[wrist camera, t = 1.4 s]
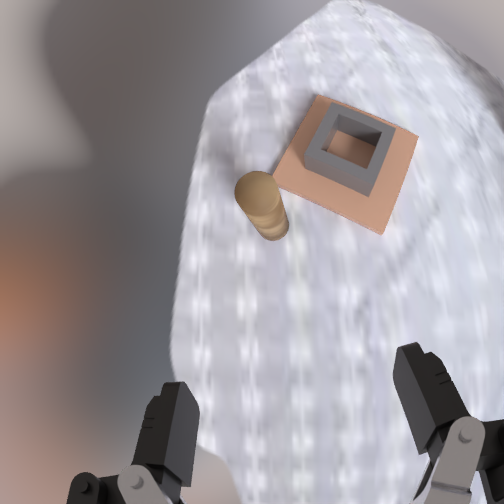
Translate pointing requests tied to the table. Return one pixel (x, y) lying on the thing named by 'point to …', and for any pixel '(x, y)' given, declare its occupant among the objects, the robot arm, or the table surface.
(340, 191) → the holder
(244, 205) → the tan dome-topped cylinder
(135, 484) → the robot arm
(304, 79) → the table surface
